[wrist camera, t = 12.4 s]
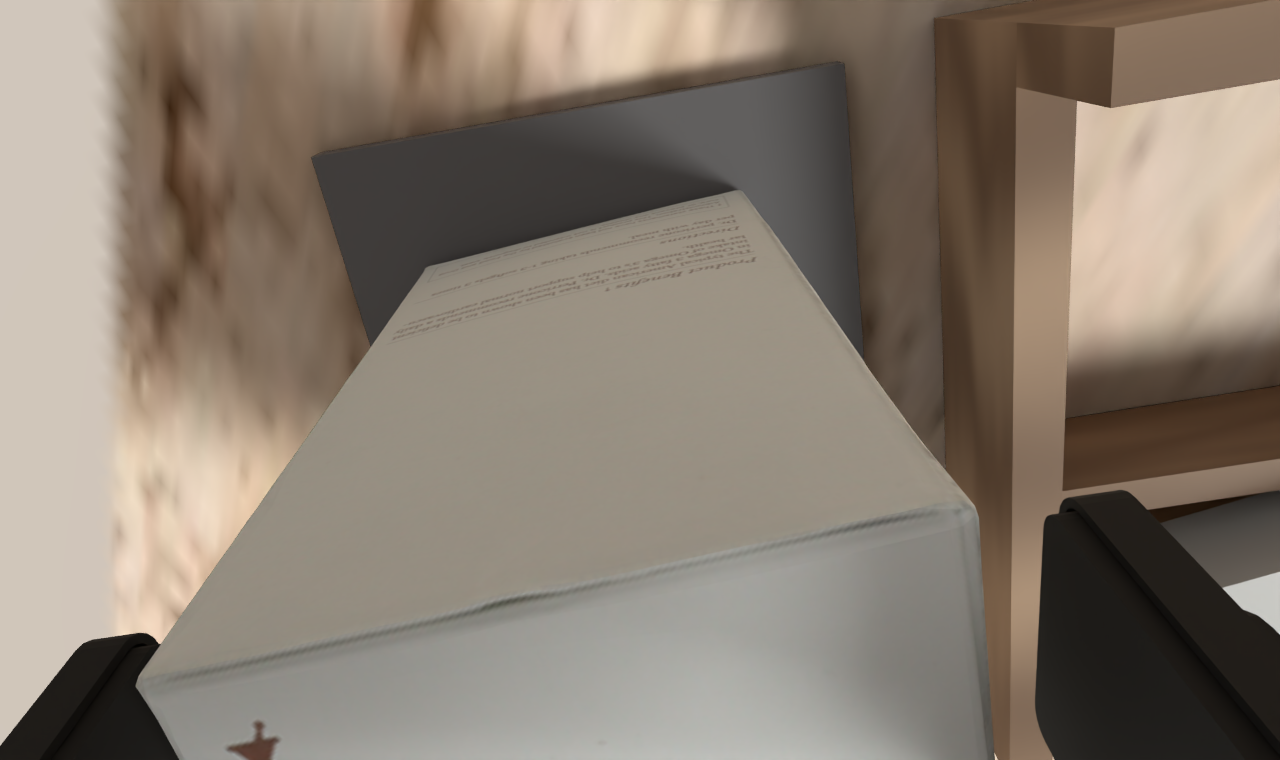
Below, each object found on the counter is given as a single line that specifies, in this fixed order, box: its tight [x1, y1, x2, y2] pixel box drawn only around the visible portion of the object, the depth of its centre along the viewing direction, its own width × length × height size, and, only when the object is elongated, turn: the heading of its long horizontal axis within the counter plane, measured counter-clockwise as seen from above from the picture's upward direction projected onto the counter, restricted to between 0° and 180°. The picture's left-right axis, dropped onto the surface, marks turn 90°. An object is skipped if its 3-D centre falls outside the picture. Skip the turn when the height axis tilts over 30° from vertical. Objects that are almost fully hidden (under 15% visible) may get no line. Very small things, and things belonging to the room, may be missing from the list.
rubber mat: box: [311, 61, 864, 361], centre depth 20 cm, size 11×11×1 cm
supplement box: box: [136, 190, 995, 760], centre depth 14 cm, size 7×7×13 cm
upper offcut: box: [1160, 490, 1280, 634], centre depth 20 cm, size 4×10×2 cm, turn 110°
